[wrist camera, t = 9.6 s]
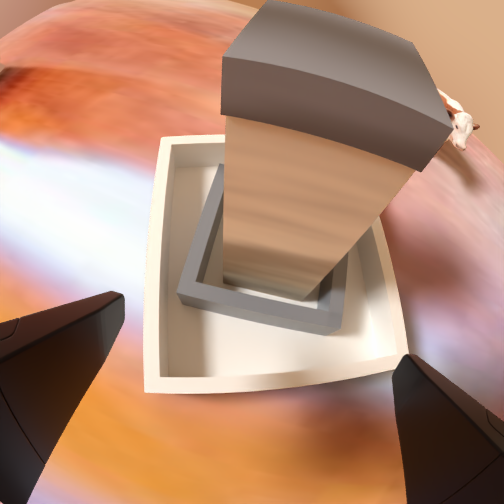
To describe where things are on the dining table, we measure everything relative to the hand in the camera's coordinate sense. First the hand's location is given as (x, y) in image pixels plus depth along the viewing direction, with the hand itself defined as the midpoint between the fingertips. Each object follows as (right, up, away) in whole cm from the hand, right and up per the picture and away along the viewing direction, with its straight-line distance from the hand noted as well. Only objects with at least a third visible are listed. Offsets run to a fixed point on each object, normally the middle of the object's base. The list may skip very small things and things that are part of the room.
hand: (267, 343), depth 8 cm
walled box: (+1, +2, +11) cm, 11 cm away
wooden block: (+1, +2, +10) cm, 10 cm away
